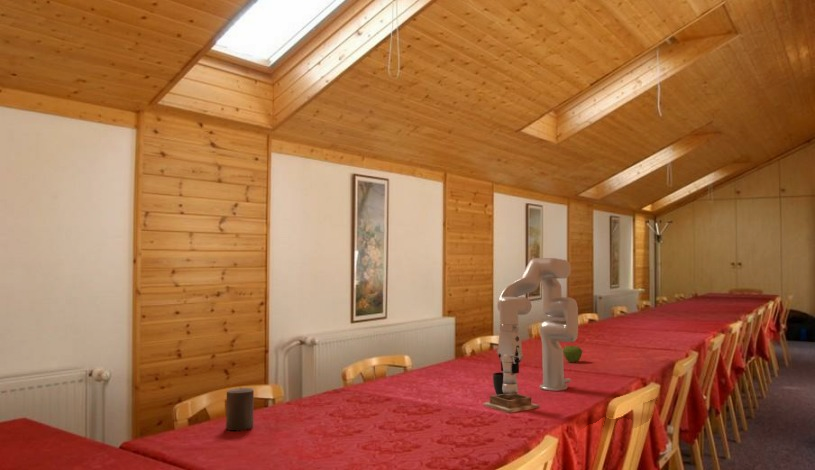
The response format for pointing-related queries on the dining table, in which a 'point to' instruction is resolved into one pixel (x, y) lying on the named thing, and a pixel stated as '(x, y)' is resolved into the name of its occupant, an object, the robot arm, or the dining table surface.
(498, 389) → the mug
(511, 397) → the bottle stand
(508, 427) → the dining table surface
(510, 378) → the plastic bottle
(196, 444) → the dining table surface
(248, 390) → the dark grey cylinder
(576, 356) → the apple
